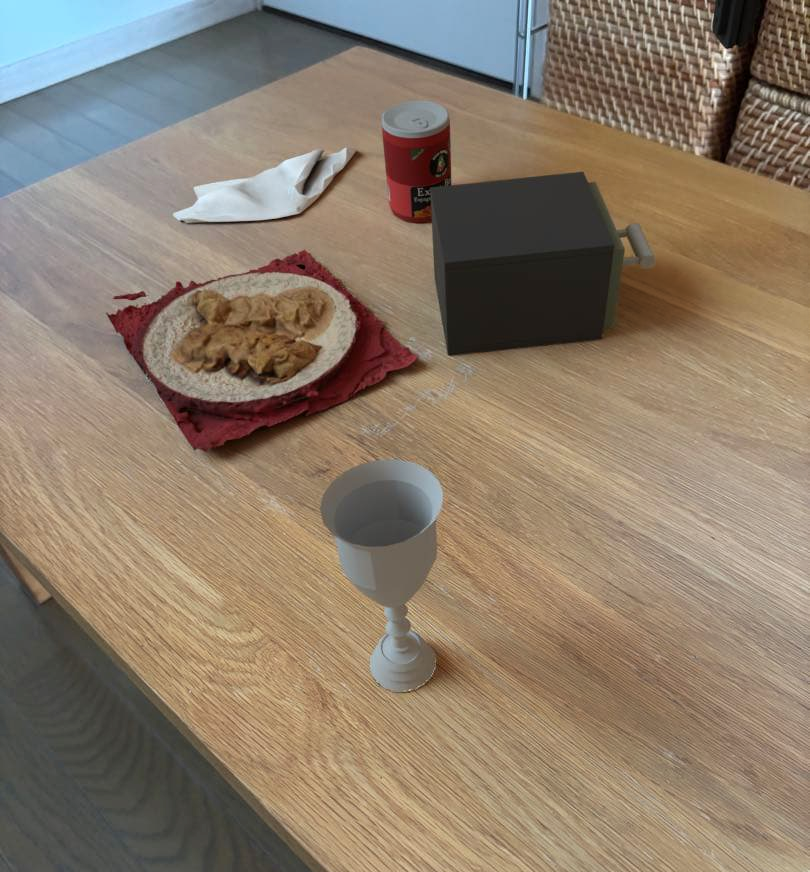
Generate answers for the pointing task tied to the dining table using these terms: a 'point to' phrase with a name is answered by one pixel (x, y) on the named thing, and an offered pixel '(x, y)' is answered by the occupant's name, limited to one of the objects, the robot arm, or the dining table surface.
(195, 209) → the cloth
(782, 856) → the dining table surface
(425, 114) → the canned food
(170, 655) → the dining table surface
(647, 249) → the drawer
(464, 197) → the cabinet
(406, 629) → the chalice
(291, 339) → the plate with food
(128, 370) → the dining table surface
